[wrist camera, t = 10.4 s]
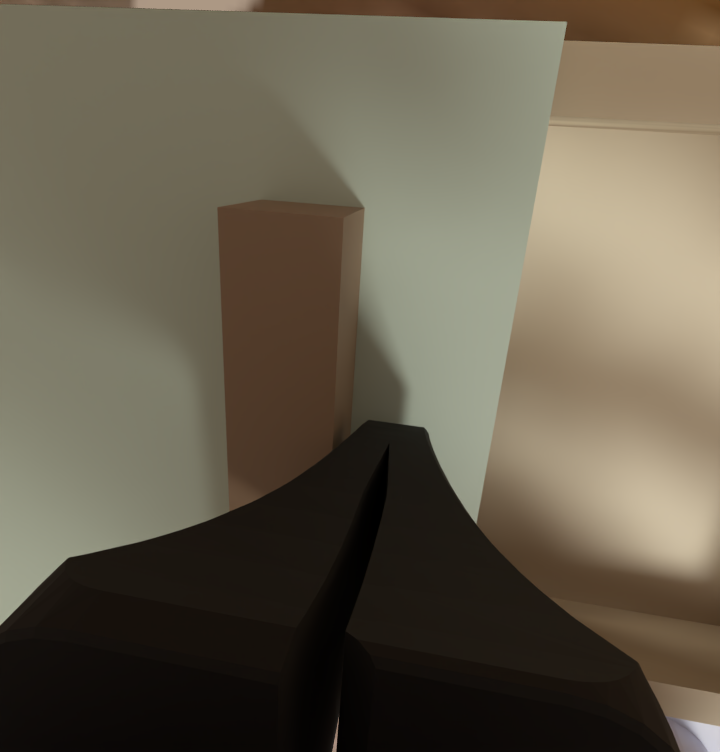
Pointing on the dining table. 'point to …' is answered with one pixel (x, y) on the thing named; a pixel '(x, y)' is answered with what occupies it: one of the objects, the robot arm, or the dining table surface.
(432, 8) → the dining table surface
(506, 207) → the lid
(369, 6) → the dining table surface
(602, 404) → the toolbox
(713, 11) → the dining table surface
